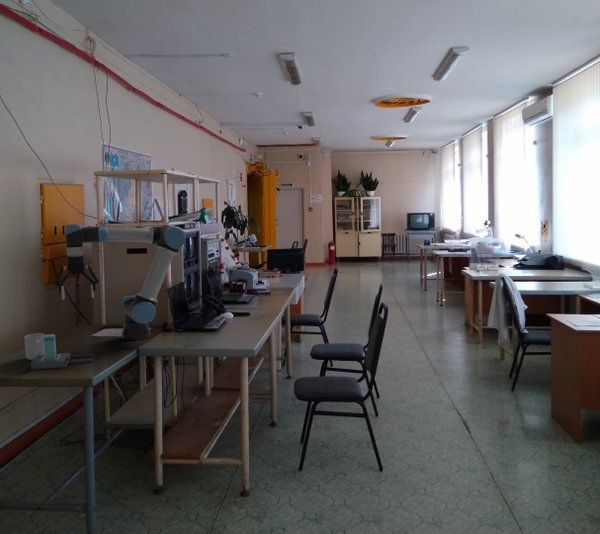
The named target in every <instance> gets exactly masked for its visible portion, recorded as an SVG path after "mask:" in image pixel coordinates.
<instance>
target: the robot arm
mask: <svg viewBox="0 0 600 534" xmlns="http://www.w3.org/2000/svg"><path fill="white" fill-rule="evenodd" d="M64 227H65V228H64V230H65V231H64V232H65V234H64V235H65V244H66V256H67V257H66V258H67V259H66V262H67V265H66V266H65V265H61V266H60V271H59V273H58V275H57V277H56V280H55V282H54V286H57V287H58V292H59V294H61V298H62V299H61V300H62V301H63V300H64V301H65V299H66V297H65V286H64V285H63V284H64V283H65V282H66V281H67V280H68V278H69V277H70V276H71V275H73V276H75V275H78V276H79V275H82V276H84V278H86V279H87V281H89V282H90V283H91V284H90V292H91V293H90V294H91V295H90V296H91V298H92V299H94V298H95V293H94V292H95V291H96V290H97V289H96V284H98V283H100V280H99V278H98V276H97V275H96V273H95V272H94V271H93V270H94V269H92V264H87V265H85V258H84V257H85V256H84V244H86V243H88V244H89V243H90V244H91V243H103V242H104V243H106V242H120V243H121V242H122V243H123V242H125V243H129V242H130V243H148V244H149V245H156V248H157V252H156V254H155V257H154V259H153V261H152V263H151V265H150V269H149V270H148V273H147V276H146V277H145V281H144V283H143V285H142V288H141V290H140V291H139V292H138V293H136V294H135V295H128V296H127V295H125V296H123V298H122V307H123V308H122V309H123V321H124V323H123V328H122V331H121V339H122V340H125V341H137V340H144V339H147V338H149V337H151V330H150V327H149V325H148V323H150V322H152V321H153V320H154V319H155V316H156V312H157V311H156V307H157V305H158V299H157V297H158V294H159V292H160V290H161V287H162V284H163V282H164V280H165V278H166V275H167V273H168V270H169V268H170V265H171V263H172V260H173V258H174V256H176V255H178V253H179V251H180V249H181V248H182V247H184V245H185V244H186V242H187V241H186V240H187V234H186V232H185V231H184V229H182V228H181V227H179V226H176V225H160V226H159V225H158V226H149V227H146V228H145V227H119V226H118V227H116V226H115V227H114V226H113V227H112V226H90V225H88V226H87V225H86V226H85V227H83V226H82V224H81V223H68V224H66V225H65V226H64ZM85 269H86V270H88V272H89V274H90V275H91V276H89V274H88V273H86V272H85ZM66 270H67V271H68V273H67V274H66V275H65V276H64V277H63V279H62V276H63V274H64V272H65V271H66ZM61 279H62V280H61ZM60 281H61V282H60Z"/></svg>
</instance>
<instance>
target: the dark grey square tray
mask: <svg viewBox="0 0 600 534" xmlns="http://www.w3.org/2000/svg"><path fill="white" fill-rule="evenodd" d="M95 357H96V354H94V353H92V354H82V355H72V356H71V359H70V360H69V362H68V365H79V364H91V363H93V362H94V360H95Z"/></svg>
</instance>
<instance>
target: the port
mask: <svg viewBox="0 0 600 534" xmlns="http://www.w3.org/2000/svg"><path fill="white" fill-rule="evenodd" d="M56 355H57V358H56V359H46V360H45V355H38V356H37V357H36V358H35V359H34V360H31V362H30V370H31V371H35V370H36V371H37V370H50V369H59V368H60V369H61V368H66V367H67V365H68V364H69V361H71V352H59V353H56Z"/></svg>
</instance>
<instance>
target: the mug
mask: <svg viewBox="0 0 600 534" xmlns="http://www.w3.org/2000/svg"><path fill="white" fill-rule="evenodd" d="M45 335H46V334H45V333H42V332H39V333H38V332H36V333H30V334H27V335H24V337H23V338H24V349H25V358H26V359H27V360H29V361H33V360H34V359H35V358H36V357H37V356H38V355H45V348H44V336H45Z"/></svg>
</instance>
